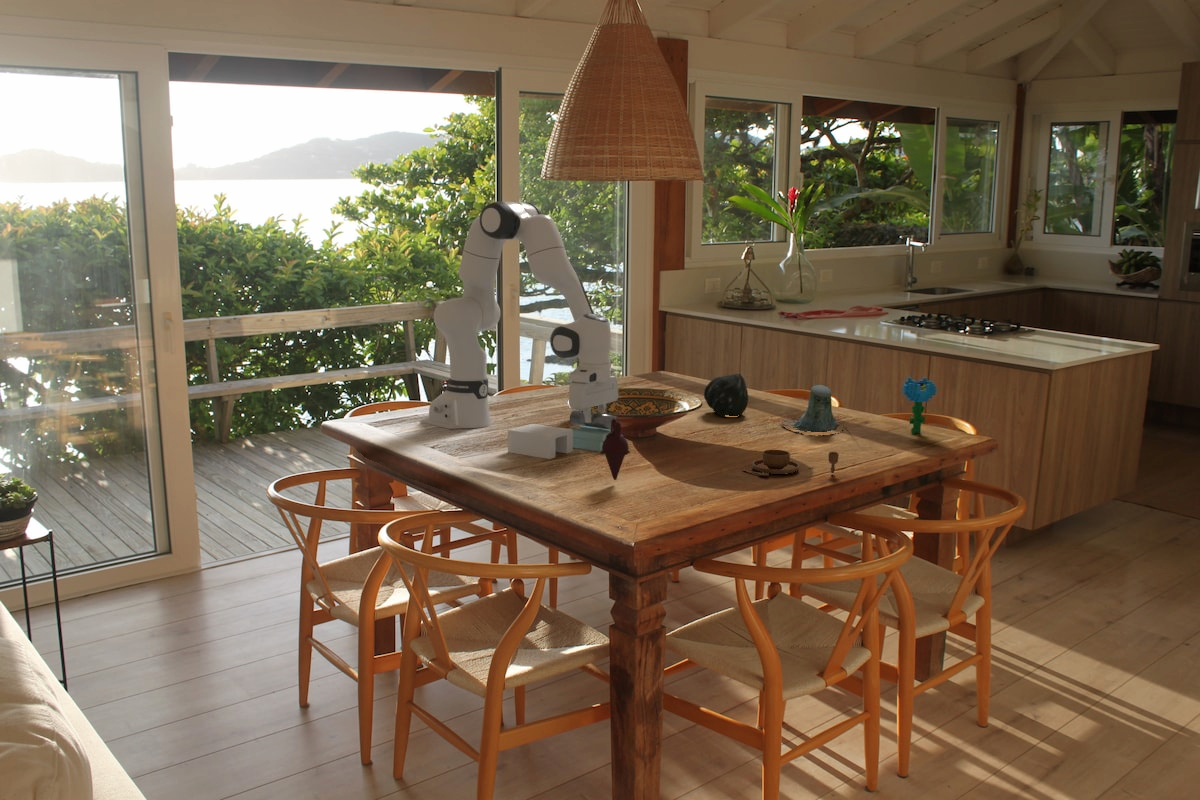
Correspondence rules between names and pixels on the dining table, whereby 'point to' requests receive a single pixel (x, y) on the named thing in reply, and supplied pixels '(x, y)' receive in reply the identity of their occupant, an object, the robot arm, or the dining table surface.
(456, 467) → the dining table surface
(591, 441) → the v block
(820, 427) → the green grey mushroom
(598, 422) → the axle
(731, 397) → the squash
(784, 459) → the place setting
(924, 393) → the toy flower
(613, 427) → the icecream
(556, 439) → the white notched block
